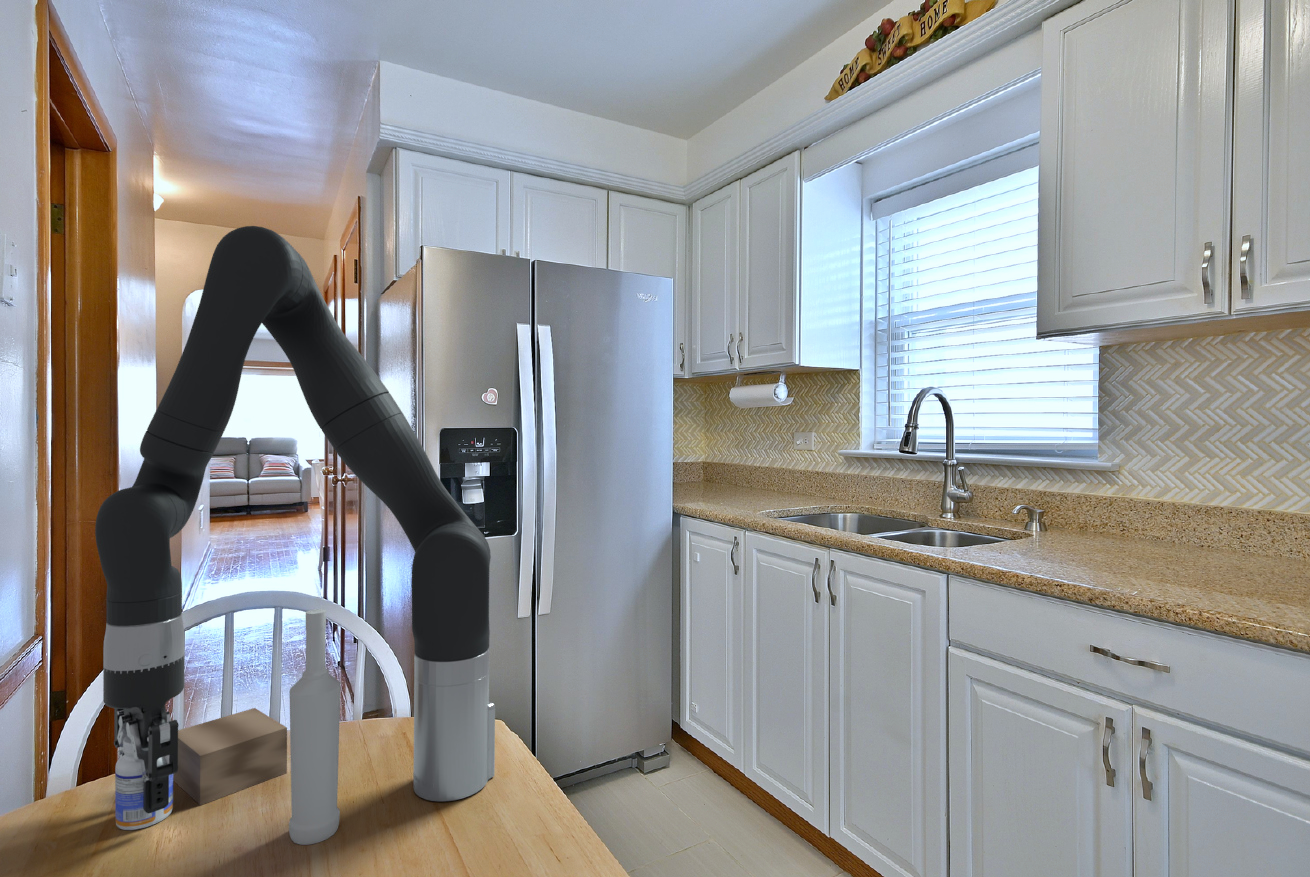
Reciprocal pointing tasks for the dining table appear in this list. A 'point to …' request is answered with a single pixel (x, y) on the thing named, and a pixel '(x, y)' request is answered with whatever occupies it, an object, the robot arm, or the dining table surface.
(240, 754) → the walnut block
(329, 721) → the bottle
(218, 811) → the dining table surface
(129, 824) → the pill bottle
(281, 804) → the dining table surface
